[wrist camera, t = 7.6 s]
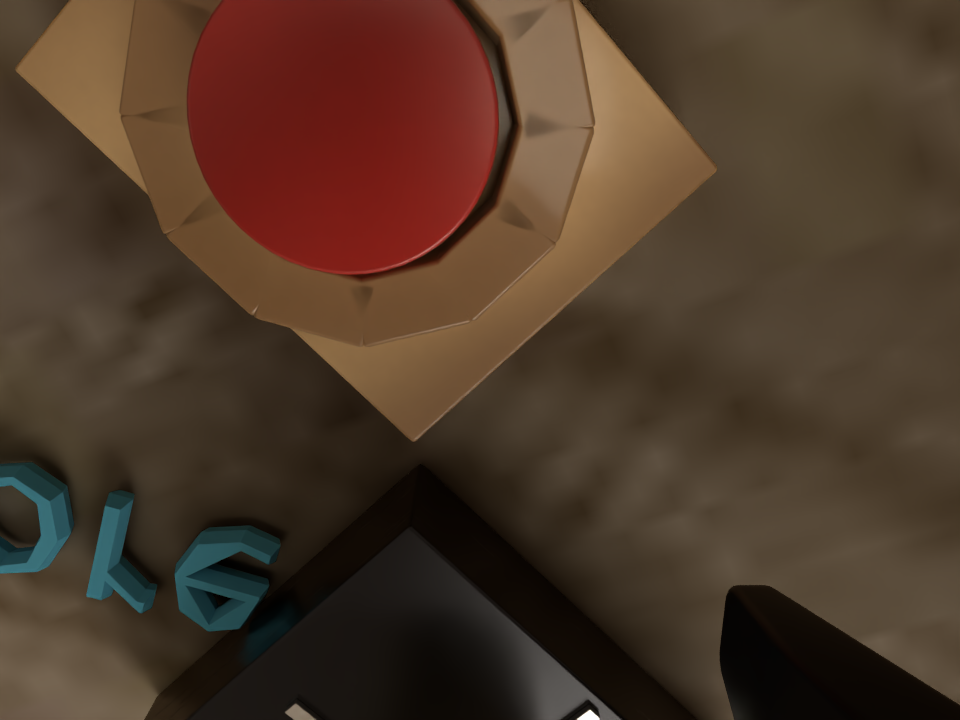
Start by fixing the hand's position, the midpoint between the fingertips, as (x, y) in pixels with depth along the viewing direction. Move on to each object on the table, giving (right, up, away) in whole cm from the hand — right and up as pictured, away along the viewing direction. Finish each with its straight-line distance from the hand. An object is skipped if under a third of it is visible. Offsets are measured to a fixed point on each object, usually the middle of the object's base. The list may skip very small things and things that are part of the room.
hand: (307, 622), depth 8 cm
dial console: (+1, -7, +12) cm, 14 cm away
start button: (0, +7, +4) cm, 8 cm away
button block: (0, +8, +8) cm, 11 cm away
